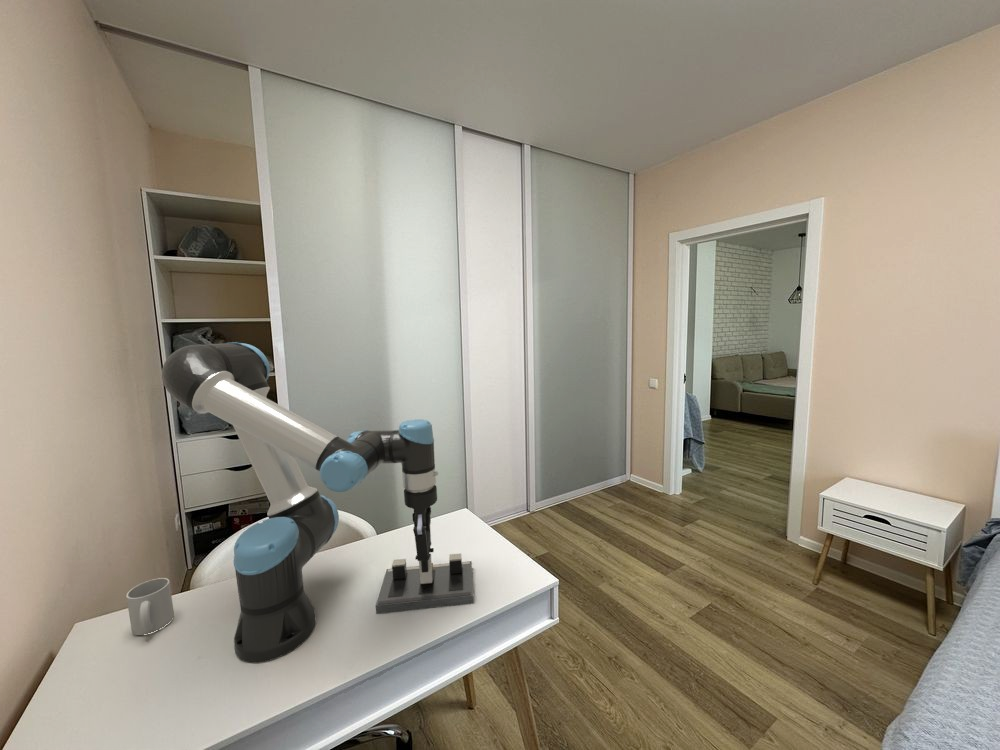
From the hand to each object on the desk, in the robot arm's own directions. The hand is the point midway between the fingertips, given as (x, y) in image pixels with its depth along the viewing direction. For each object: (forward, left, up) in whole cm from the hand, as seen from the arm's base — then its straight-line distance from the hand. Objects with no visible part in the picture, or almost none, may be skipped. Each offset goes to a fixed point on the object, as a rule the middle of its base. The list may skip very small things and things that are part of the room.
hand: (426, 581), depth 96 cm
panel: (0, +2, -3) cm, 4 cm away
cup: (-60, -2, -4) cm, 60 cm away
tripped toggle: (0, +2, -1) cm, 2 cm away
